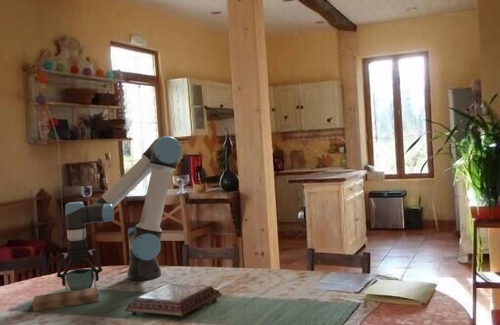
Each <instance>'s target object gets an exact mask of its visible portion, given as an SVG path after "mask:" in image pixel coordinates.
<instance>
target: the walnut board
mask: <svg viewBox="0 0 500 325" xmlns="http://www.w3.org/2000/svg"><path fill="white" fill-rule="evenodd" d="M97 302H100V296H99V290H98V288H97V286H96V287H95V288H94V287H91V288H88V289H81V290H74V291H71V290H68V291H67V292H66V291H61V292H55V293H47V294H41V295H34V296H33V301H32V311H33V312H39V311H40V312H41V311H44V310H51V309H59V308H66V307H72V306H77V305H78V306H79V305H83V304H84V305H85V304H86V305H87V304H93V303H97Z"/></svg>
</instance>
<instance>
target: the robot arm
mask: <svg viewBox="0 0 500 325" xmlns="http://www.w3.org/2000/svg"><path fill="white" fill-rule="evenodd" d="M182 149H183V148H182V145H181V143H180V141H179V140H178V139H176V138H175V137H173V136H171V135H164V136H163V135H162V136H160V137H157V138H156V139H155V140H154V141H152V143H151V144H150V145H149V146H148V148H147V149H146V150H145V151H144V152H143V153H142V154H141V158H140V159H138V161H136V163H135V164H133V165H132V166H131V167H130V168H129V169H128V170H127V171H126V172H124V174H123V175H122V176H121V177H119V179H118V180H116V182H115V183H114V184H113V185H112V186H111V187H110V188H109V189H108V190H107V189H106V191H105V192H104V193H103V194H102V195H101V196H100V197H99V198H98V199H97V200H96V201H95V202H93V203H92V204H91V205H84V202H83V201H74V202H73V201H70V202H67V203H66V204H65V206H64V207H65V208H64V210H65V213H64V214H65V215H64V216H65V223H66V224H65V225H66V233H67V235H66V236H67V240H68V241H67V248H68V249H67V250H68V251H67V252H65V253H64V252H62V253H61V254H60V256H61V259H60V263H59V266H58V271H57V274H56V277H57V278H60V279H61V281H62V282H61V285H62V286H63V287H65V292H67V291H69V289H68V288H69V286H68V283H67V279H66V275H65V274H67V273H69V272H70V271H69V270H70V268H71V267H72V265H73V264H74V262H75V263H78V262H83V261H85V263H86V264H87V265H88V266H89V267H90V269H92V270H93V271H94V273H93V275H94V279H93V288H95V287H97V282H99V280H100V279H99V273H101V272H103V268H102V266H101V264H100V261H99V259H98V258H97V255H96V249H95V248H93V249H88V243H87V242H88V241H87V240H88V239H87V230H86V225H88V224H95V223H96V224H97V223H99V224H100V223H107V222H113V221H114V220H115V214H114V213H115V211H114V208H116V206H117V205H118V204H119V203H120V202H121V201H123V199H125V198H126V197H127V195H129V194H130V193H131V192H132V191H133V190H134V189H135V188H136V187H137V186H139V184H140V183H141V182H142V181H144V180H145V179H146V177H147V176H149V175H150V177H149V181H148V185H147V190H146V194H145V199H144V204H143V208H142V211H141V216H140V222H139V223H137V224H135V227H129V228H128V230H127V237H128V240H127V241H128V249H129V251H128V252H129V265H128V268H127V275H126V276H127V279H128V280H129V281H145V280H146V281H147V280H151V279H155V278H158V277H161V276H162V270H161V267H160V265H159V262H158V260H157V256H158V255H159V253H160V252H161V248H162V247H161V245H162V244H161V238H162V234H163V229H162V228H161V224H162V223H161V222H162V218H163V215H164V214H163V213H164V210H165V204H166V200H167V195H168V190H169V186H170V181H171V177H172V173H173V172H174V171H176V170H177V166H178V162H179V159H180V157H181V155H182ZM89 254H90V255H91V256H92V258H93V260H94V262H95V264H96V266H97V268H96V267H95V265H93V263H92V262H91V261H90V260H89V258H88V257H87V256H88V255H89ZM67 256H68V257H69V258H70V260H69V262H68V264H67V265H66V267H65V269H64V270H63V267H64V262H65V259H67ZM62 270H63V273H62Z"/></svg>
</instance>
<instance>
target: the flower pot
mask: <svg viewBox="0 0 500 325" xmlns="http://www.w3.org/2000/svg"><path fill="white" fill-rule="evenodd" d="M93 273H95V272H94V271H93V270H92V269H91V268H76V269H73V270H71V271H68V272H67V274H65V275H66V276H65V277H66V279H67V287H68V288H69V291H74V290H81V289H88V288H93V287H92V286H93V285H94V275H93Z"/></svg>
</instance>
